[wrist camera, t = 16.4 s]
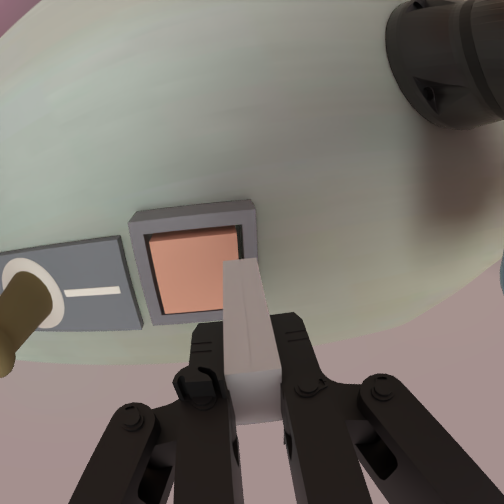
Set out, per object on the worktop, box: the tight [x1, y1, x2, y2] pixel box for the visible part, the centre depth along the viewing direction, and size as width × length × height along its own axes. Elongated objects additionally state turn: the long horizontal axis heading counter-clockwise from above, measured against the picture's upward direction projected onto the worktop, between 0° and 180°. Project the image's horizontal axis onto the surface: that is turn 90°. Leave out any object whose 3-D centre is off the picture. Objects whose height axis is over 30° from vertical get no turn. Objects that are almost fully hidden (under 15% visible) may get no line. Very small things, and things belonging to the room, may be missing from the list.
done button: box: [149, 225, 239, 314], centre depth 25 cm, size 7×7×3 cm
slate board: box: [0, 236, 144, 331], centre depth 25 cm, size 18×10×1 cm, turn 93°
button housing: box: [128, 200, 258, 326], centre depth 25 cm, size 10×10×3 cm
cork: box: [0, 271, 53, 378], centre depth 19 cm, size 6×6×11 cm
